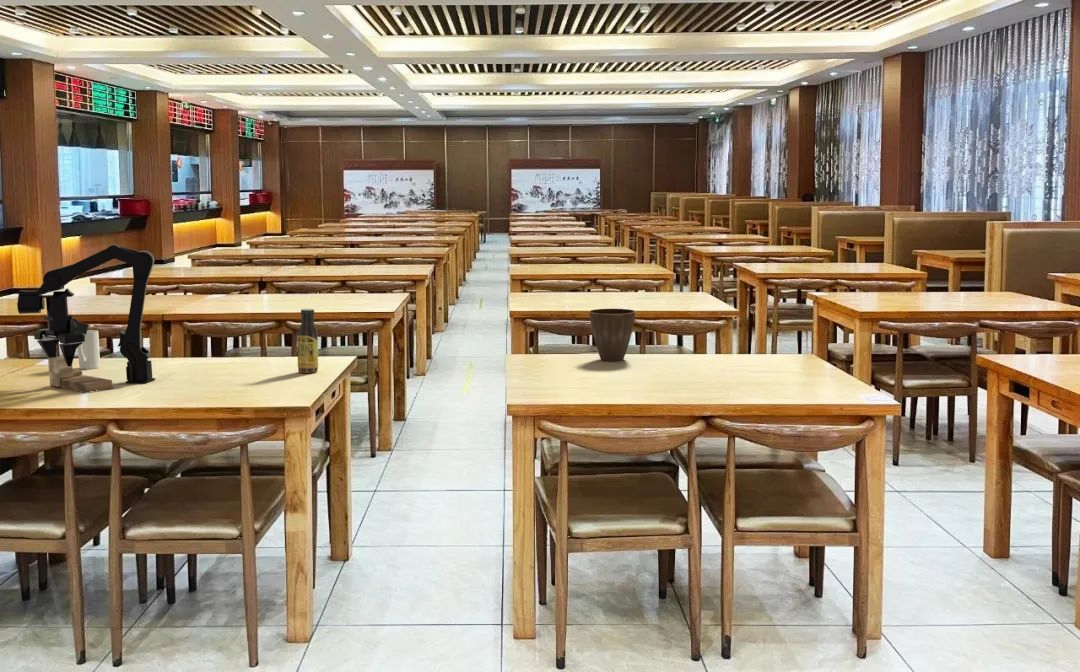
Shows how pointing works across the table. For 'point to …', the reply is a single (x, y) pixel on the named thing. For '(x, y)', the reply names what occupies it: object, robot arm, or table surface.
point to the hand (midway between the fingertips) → (61, 364)
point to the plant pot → (612, 332)
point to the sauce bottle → (307, 343)
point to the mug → (89, 351)
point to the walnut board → (85, 383)
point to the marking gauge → (59, 370)
